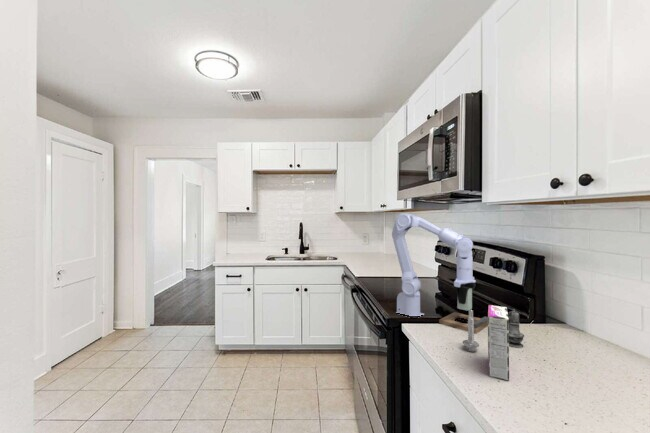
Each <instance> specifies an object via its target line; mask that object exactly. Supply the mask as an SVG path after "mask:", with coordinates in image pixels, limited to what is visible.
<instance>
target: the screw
mask: <svg viewBox="0 0 650 433" xmlns="http://www.w3.org/2000/svg"><path fill="white" fill-rule="evenodd" d="M468 315H469V317H468V321H467V325H468V331H467V339H464V340H462V342H461V344H463V345H464V346H465V349H466V351H468V352H471V353H472V352H476V349H477V348H479V347H480V343H478V341H476V340H475V333H474V320H473V319H474V318H473V317H474V310H472V309H470V310H468Z"/></svg>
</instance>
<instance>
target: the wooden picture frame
mask: <svg viewBox="0 0 650 433" xmlns="http://www.w3.org/2000/svg"><path fill="white" fill-rule="evenodd" d="M458 317H460V318H464V319H467V320H468V317H469V314H464V313H460V312H452V313H450V314H448V315H445V316H444V317H442V318H440V319H438V324H440V325H442V326H443V325H444V326H447V327H449V328H450V327H451V328H453V329H456V330H457V329H458V330H462V331H464V332H468V323H463V322H460V321H457V320H456V321H455V319H456V318H458ZM473 318H474V319H473V320H474V323H475V322H476V321H478V320H480V319H481V318H482V317H481V318H480V317H476V316H473ZM485 328H488V321H487V322H486V323H484V324H483V325H481V326H479V327H478V328H476V329H475V328H474V335H475V334H476V335H477V334H478V333H480V332H481V331H482V330H484V329H485Z"/></svg>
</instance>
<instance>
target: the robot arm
mask: <svg viewBox="0 0 650 433" xmlns="http://www.w3.org/2000/svg"><path fill="white" fill-rule="evenodd" d="M393 222H394V223H393V228H392V232H391V237H392V240H393V245H394V248H395V252H396V256H397V260H398V263H399V267H400V271H401V282H402V283H401V290H402V291H401V292H399V293H398V294H397V297H396V312H395V314H396V313H400V314H405V315H409V316H420V317H422V316H421V315H423V316H424V315H425V313H423V312H421V292H420V290H421V288H422V282H421V281H420V279H419V278H418V275H417V273H416V272H415V270H414V267H413V262H412V259H411V256H410V252H409V249H408V244H407V241H406V238H405V235H406V234H407V233H408V231H410V229H412V228H416V227H417V228H421V229H424V230H426V231H427V232H430V233H432V234H433V235H436V236H437V238H438V240H439V241H440V242H443V243H444V244H446V245H448V246H450V247H452V248H455V249H456V252H457V254H456V278H455V280H454V281H453V285H452V286H453V289H454V291H455V293H456V296H458V300H459V303H461V304H465V303H466V296H467V292H468V290H469V288H472V293H473V292H474V290H475V288H476V284H477V283H476V282H477V280H475V276H473V271H474V270H473V267H474V265H473V263H474V260H473V258H474V257H473V250H472V249H473V248H474V242H473V240H472V239H471V238H469V237H467V236H464V234H462V233H461V234H460V233H457V232H456V231H454V230H453V228H451V227H449V228H447V227H444V228H441V227H438V226H437V225H435V224H433V223H432V222H430V221H428V220H426V219H424V218H423V217H420V216H418V215H416V214H415V215H414V214H413V213H410V212H409V213H406V212H405V213H402V212H401V213H399V214H398V215H397V217H396V218H395V219H394V221H393ZM400 314H399V315H400Z"/></svg>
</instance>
